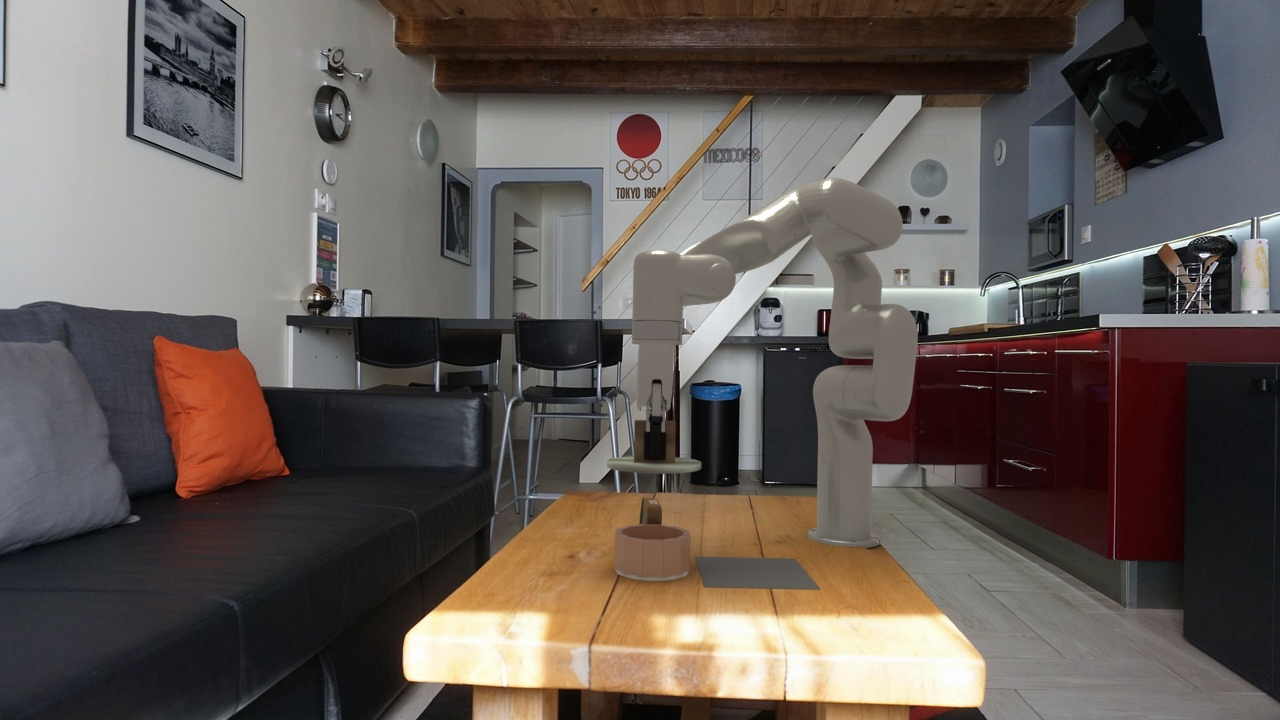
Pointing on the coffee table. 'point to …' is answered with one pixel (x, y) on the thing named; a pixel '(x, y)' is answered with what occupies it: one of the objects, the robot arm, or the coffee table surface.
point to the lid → (654, 466)
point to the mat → (754, 573)
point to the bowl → (652, 552)
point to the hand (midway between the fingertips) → (654, 457)
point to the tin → (650, 511)
